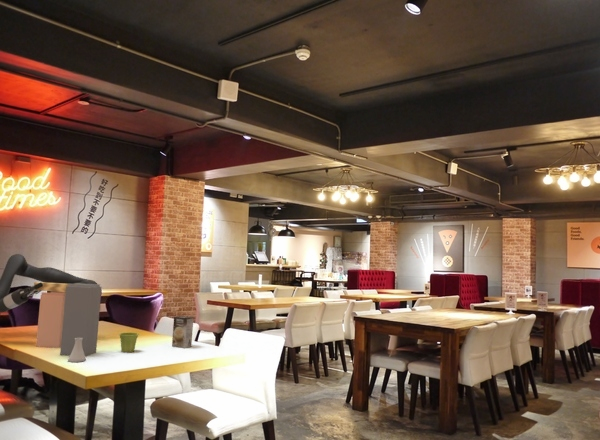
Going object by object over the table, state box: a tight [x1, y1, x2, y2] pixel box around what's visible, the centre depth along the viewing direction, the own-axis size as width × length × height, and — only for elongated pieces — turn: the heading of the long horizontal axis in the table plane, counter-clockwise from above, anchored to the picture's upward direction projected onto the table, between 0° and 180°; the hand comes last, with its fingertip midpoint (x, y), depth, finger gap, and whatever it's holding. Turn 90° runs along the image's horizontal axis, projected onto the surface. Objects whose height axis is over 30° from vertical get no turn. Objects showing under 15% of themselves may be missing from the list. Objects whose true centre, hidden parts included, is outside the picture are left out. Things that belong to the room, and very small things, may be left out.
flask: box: [67, 338, 87, 363], centre depth 218 cm, size 7×7×10 cm
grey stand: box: [59, 283, 102, 357], centre depth 235 cm, size 12×11×33 cm
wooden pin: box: [33, 281, 83, 292], centre depth 254 cm, size 24×5×5 cm, turn 86°
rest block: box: [35, 291, 66, 349], centre depth 253 cm, size 12×10×27 cm
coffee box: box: [171, 315, 194, 349], centre depth 266 cm, size 9×6×16 cm
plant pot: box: [118, 332, 140, 353], centre depth 245 cm, size 9×9×9 cm
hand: (44, 283), depth 255 cm, fingers closed on wooden pin, 4 cm apart
